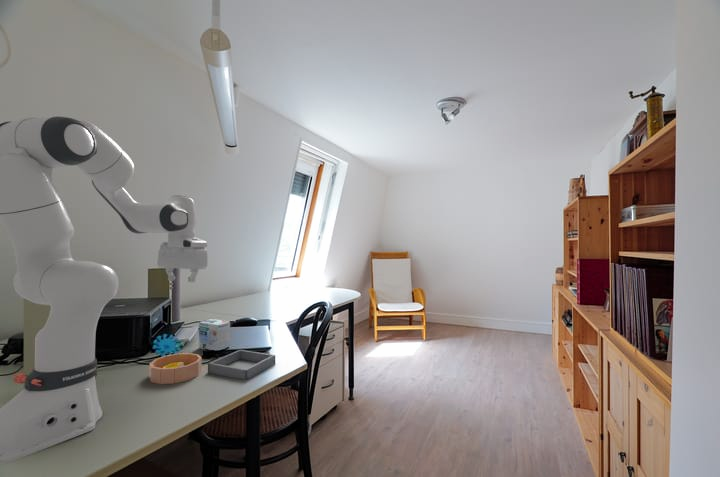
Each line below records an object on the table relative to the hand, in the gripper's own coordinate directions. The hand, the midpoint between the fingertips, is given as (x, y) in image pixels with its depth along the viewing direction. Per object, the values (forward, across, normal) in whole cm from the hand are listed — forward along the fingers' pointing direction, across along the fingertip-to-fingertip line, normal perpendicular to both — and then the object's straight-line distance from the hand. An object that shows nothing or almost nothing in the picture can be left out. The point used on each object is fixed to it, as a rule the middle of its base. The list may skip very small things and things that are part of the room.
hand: (181, 281), depth 124 cm
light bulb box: (+29, -2, +18) cm, 34 cm away
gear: (+29, -11, +4) cm, 32 cm away
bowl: (+29, +7, -8) cm, 31 cm away
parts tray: (+29, +23, +5) cm, 37 cm away
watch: (+27, +3, -8) cm, 29 cm away
